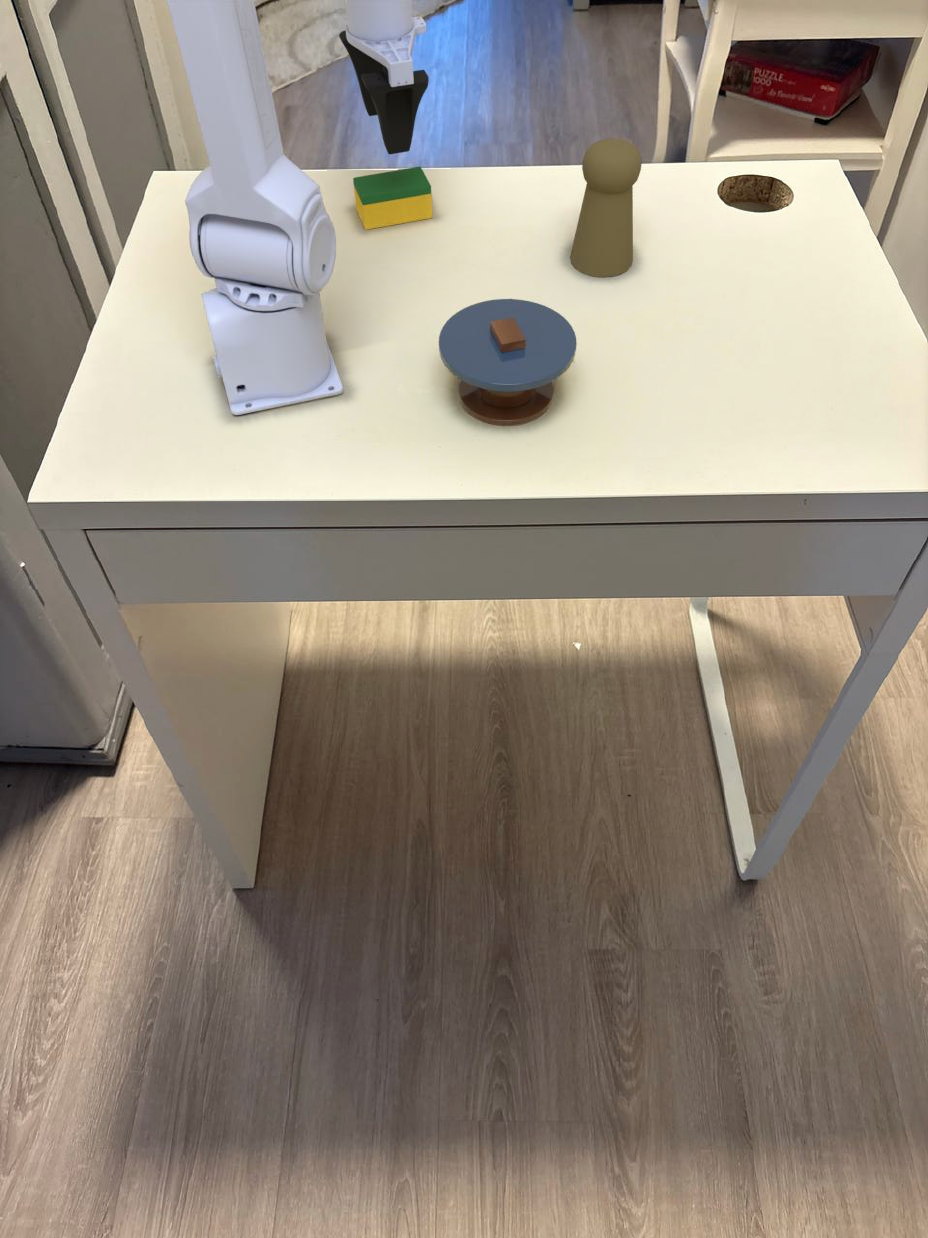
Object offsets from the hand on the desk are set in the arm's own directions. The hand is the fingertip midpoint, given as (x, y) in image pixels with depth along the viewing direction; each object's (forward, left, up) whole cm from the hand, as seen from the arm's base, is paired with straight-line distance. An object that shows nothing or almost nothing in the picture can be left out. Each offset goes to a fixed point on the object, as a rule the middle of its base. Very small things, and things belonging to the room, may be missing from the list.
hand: (388, 131), depth 93 cm
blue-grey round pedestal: (+2, -30, -8) cm, 31 cm away
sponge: (0, 0, -8) cm, 8 cm away
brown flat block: (+2, -30, -3) cm, 30 cm away
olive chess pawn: (+17, -14, -8) cm, 24 cm away
